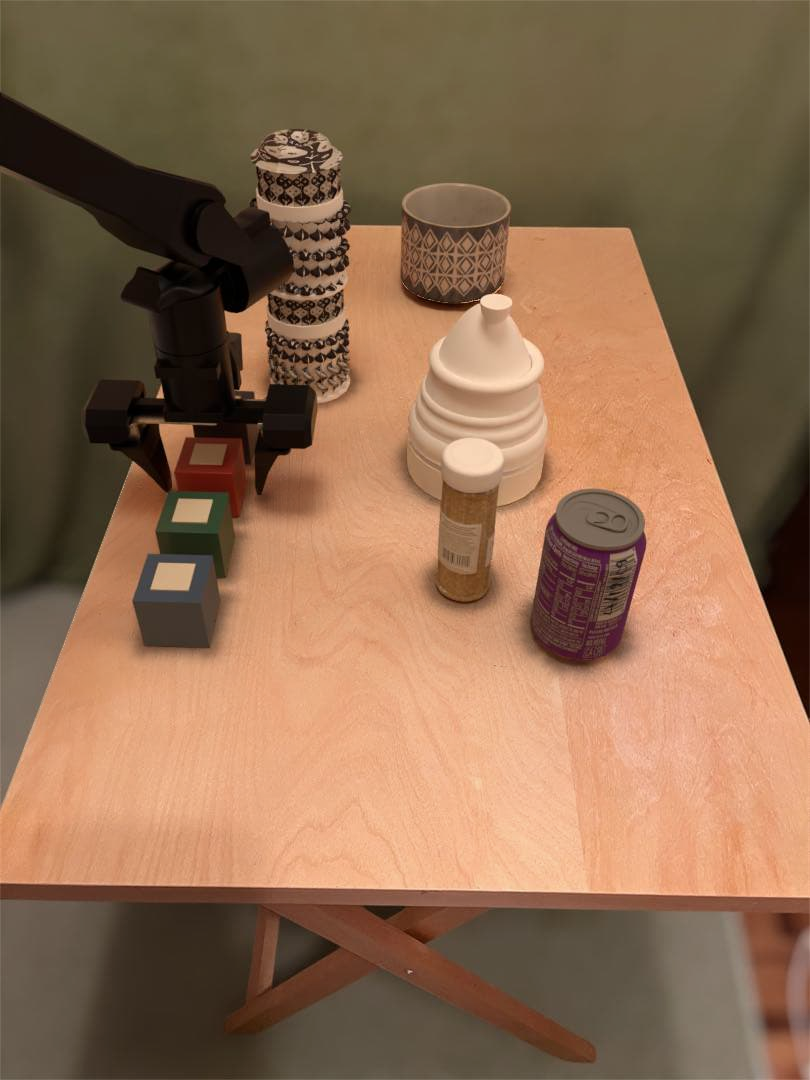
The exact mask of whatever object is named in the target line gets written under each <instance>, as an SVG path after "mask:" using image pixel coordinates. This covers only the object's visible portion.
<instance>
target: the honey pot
mask: <svg viewBox="0 0 810 1080" xmlns="http://www.w3.org/2000/svg"><path fill="white" fill-rule="evenodd" d="M512 307H513V300H512V299H511V298H510V297H509V296H507V295H504V294H500V293H496V294H489V295H486V296H483V297H482V298H481V300H480V301H479V303H477V304H475V305H474V306H471V307H470V308H469V309H467V310H466V311H465V312H464V313H463V314H462V315H461V316H460V317H459V318H458V320H457V321H456V322H455V323H454V324H453V326H452V328H451V329H450V330H449V332H448V333H447V334H446V335H445V336H443V337H442V338H440V339H439V340H437V341H436V343H435V344H434V345H433V346H432V347H431V349H430V351H429V354H428V364H429V369H428V371H427V372H426V374H425V375H424V376H423V378H422V381H421V384H420V387H419V390H418V392H417V396H416V398H415V400H414V401H413V403H412V405H411V407H410V411H409V413H408V418H407V422H408V423H407V424H408V426H407V437H406V438H407V439H406V440H407V441H406V442H407V445H406V465H407V472H408V474H409V476H410V477H411V479H412V481H413V483H414V484H415V485H417V487H418V488H420V490H421V491H423V492H424V493H425V494H427V495H429V496H431V497H432V498H435V499H436V500H438V501H440V502H441V499H442V484H443V479H442V475H441V462H442V454H443V451H444V449H445V448H446V447H447V446H448V445H449V444H450V443H452V442H454V441H456V440H459V439H463V438H479V439H484V440H487V441H489V442H492V443H493V444H495V445H496V446H498V447H499V449H500V450H501V451H502V453H503V455H504V470H503V478H502V480H501V482H500V484H499V489H498V500H497V507H501V506H506V505H511V504H513V503H515V502H517V501H519V500H521V499H523V498H525V497H526V496H527V495H529V494H530V493H531V492H533V491H534V490H535V489H536V487H537V485H538V484H539V482H540V480H541V478H542V472H543V465H544V458H545V454H546V445H547V439H548V432H549V419H548V416H547V414H546V410H545V405H544V401H543V398H542V393H543V392H542V391H543V390H542V388H541V386H540V382H539V380H540V378H541V377H542V375H543V373H544V369H545V359H544V357H543V354H542V352H541V350H540V349H538V347H537V346H536V345H535V344H534V343H533V342H531V341H530V340H528V339H527V338H525V337H523V335H522V333H521V331H520V329H519V327H518V325H517V324H516V322H515V320H514V319H513V318H512V316H511V315H510V313H511V311H512Z"/></svg>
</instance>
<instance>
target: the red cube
mask: <svg viewBox="0 0 810 1080" xmlns="http://www.w3.org/2000/svg"><path fill="white" fill-rule="evenodd" d="M246 470H247V469H246V465H245V462H244V454H243V446H242V439H234V438H195V437H194V436H193V437H190V436H187V437H186V436H185V438H184V441H183V445H182V447H181V450H180V454H179V455H178V459H177V462H176V465H175V469H174V472H173V473H174V478H175V484H176V488H177V491H186V492H222V493H229V499H230V506H231V513H232V518H240V514H241V510H242V507H243V506H242V505H243V502H244V498H245V493H246V489H247V484H248V479H247V471H246Z"/></svg>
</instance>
